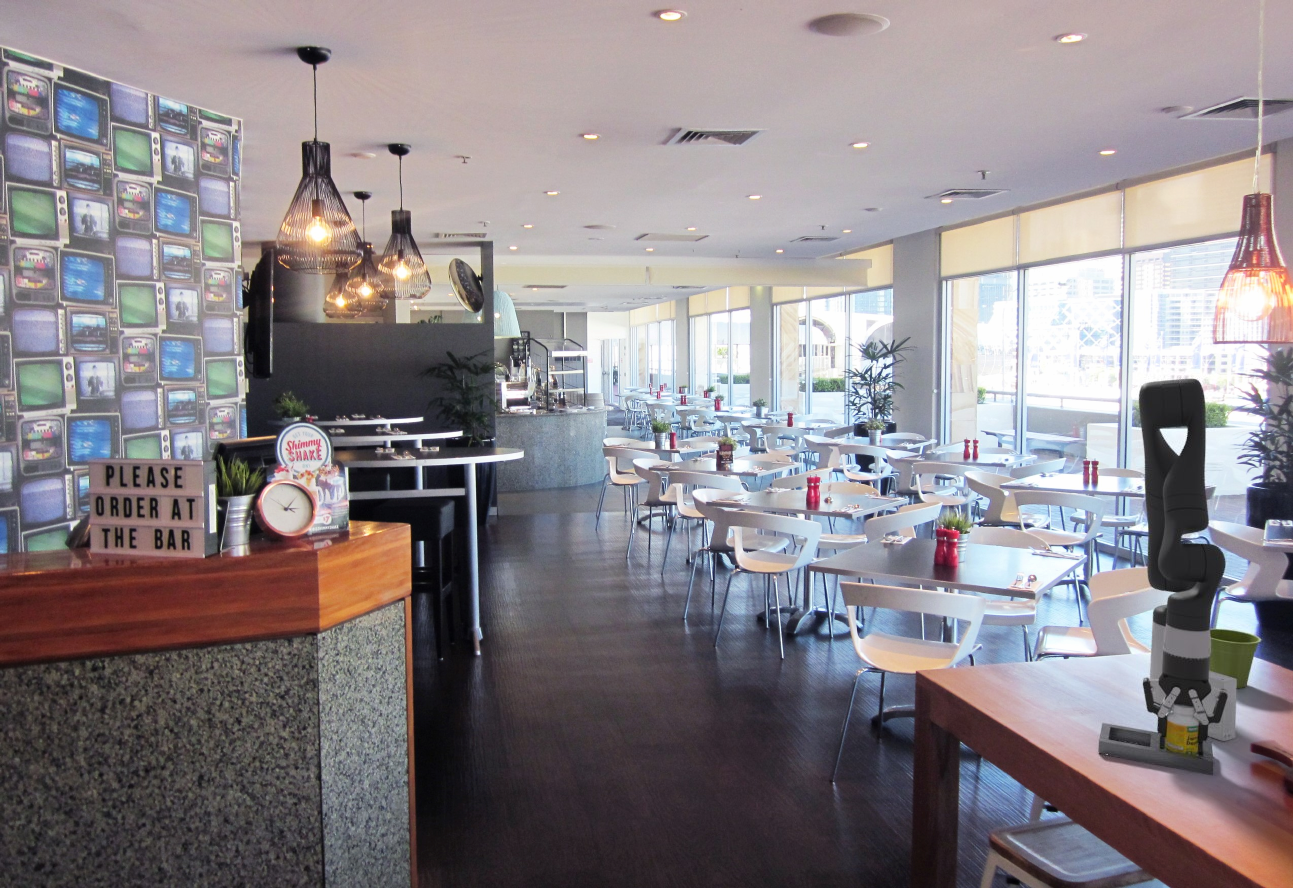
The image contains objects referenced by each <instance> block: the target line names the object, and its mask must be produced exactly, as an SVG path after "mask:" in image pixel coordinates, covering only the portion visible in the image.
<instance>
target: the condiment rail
mask: <svg viewBox="0 0 1293 888" xmlns="http://www.w3.org/2000/svg"><path fill="white" fill-rule="evenodd" d="M1099 734H1100V735H1099V739H1098V752H1099V753H1102V754H1101V755H1103V754H1108V755H1111V756H1110V757H1114V756H1117V757H1116V758H1119V757H1122V758H1121V759H1124V758H1126V760H1130V759H1131V761H1135V760H1136V761H1137V762H1140V761H1141V762H1142V763H1146V764H1151V765H1157V766H1162V767H1169V768H1173V769H1179V770H1182V771H1183V770H1184V771H1189V772H1195V773H1200V774H1206V775H1210V776H1213V775H1214V754H1213V753H1214V752H1213V744H1212V741H1209V740H1207V741H1203V744H1201V743H1198V754H1197V755H1191V754H1186V753H1180V752H1174V751H1169V750H1165V737H1161V733H1158V731H1152V730H1147V729H1139V728H1134V727H1130V726H1124V725H1117V724H1111V723H1105V722H1102V723H1101V727H1100V733H1099ZM1111 739H1114V740H1111ZM1117 740H1120V741H1117ZM1123 741H1126V742H1123ZM1128 742H1132V743H1128ZM1134 743H1137V744H1134ZM1139 744H1143V745H1139ZM1145 745H1147V746H1145ZM1098 752H1097V753H1098ZM1108 755H1107V756H1108Z"/></svg>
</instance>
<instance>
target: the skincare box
mask: <svg viewBox="0 0 1293 888" xmlns="http://www.w3.org/2000/svg"><path fill="white" fill-rule="evenodd" d="M1209 683H1210V685H1211V687H1213V688H1216V689H1225V690H1226V691H1227V695H1228V698H1227V701H1226V704H1225V708H1224V711H1223V714H1222V717H1221V720H1220V722H1219V723H1210V724H1209V725H1208V737H1210V738H1212V739H1215V740H1218V741H1221V742H1225V741H1226V742H1227V741H1230V740H1234V739H1235V738H1236V721H1237V720H1236V718H1237V717H1236V716H1237V714H1236V713H1237V688H1236V686H1237V679H1235V678H1232V677H1228V676H1225V675H1222V674H1218V673H1215V672H1212V671H1209ZM1202 703H1203V705H1204V708H1205V711H1206V713H1207V714H1212V713H1213V710H1214V707H1215V704H1216V701H1215V700H1214V699H1213V694H1211V693H1210V694H1209V695H1208V696H1206V697H1205V698H1204V699H1203V700H1202ZM1195 716H1196V717H1197V718H1198V719H1199V720H1200V718H1199V716H1198V713H1197V712H1196V713H1195Z"/></svg>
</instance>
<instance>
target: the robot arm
mask: <svg viewBox="0 0 1293 888" xmlns="http://www.w3.org/2000/svg"><path fill="white" fill-rule="evenodd" d="M1138 411H1139V412H1138V413H1139V418H1140V420H1139V421H1140V425H1141V433H1142V441H1143V442H1142V443H1143V444H1142V445H1143V451H1144V495H1145V506H1146V507H1145V508H1146V517H1147V519H1146V520H1147V531H1148V533H1147V534H1148V535H1147V568H1146V570H1147V580H1148V583H1149V585H1150V587H1151V588H1152V589H1155V590H1158V591H1161V592H1162V591H1163V592H1170V593H1172V594H1170V595H1169V596H1168V597H1167V602H1166V604H1162V605H1158V606H1156V607H1155V608H1154V609H1153V611H1152V622H1151V623H1152V625H1151V626H1152V627H1151V645H1150V646H1151V648H1150V665H1149V666H1150V667H1149V668H1150V669H1149V677H1144V678H1142V687H1143V694H1144V698H1145V699H1144V700H1145V704H1146V710H1147V712H1148V713H1151V714H1154V715H1155V716H1157V724H1156V725H1157V726H1156V727H1157V728H1156V732H1158V733H1161V737H1165V735H1166V716H1167V714H1168V713H1169V710H1171V706H1172V704H1173V703H1174V704H1185V705H1188V706H1194V707H1195V709H1196V712H1197V713H1198V716H1199V718H1200V720H1199V738H1198V743H1201V744H1203V741H1208V737H1209V736H1208V725H1209V724H1210V723H1219V722H1220V720H1221V717H1222V714H1223V711H1224V708H1225V704H1226V701H1227V698H1228V695H1227V691H1226V690H1225V689H1216V688H1213V687H1211V685H1210V683H1209V666H1210V653H1211V637H1210V629H1211V619H1212V618H1211V616H1212V607H1213V604H1214V600H1215V597H1216V595H1217V594H1216V593H1217V591H1218V588H1219V586H1220V585H1221V581H1222V579H1223V577H1224V574H1225V570H1226V567H1227V566H1226V564H1227V563H1226V562H1227V561H1226V557H1225V554H1224V552H1223V550H1222V549H1221V548H1220V547H1219V546H1217V544H1211V543H1198V542H1197V543H1195V542H1194V543H1193V542H1182V537H1183V535H1184V536H1185V535H1188V534H1194V533H1199V532H1202V531H1205V530H1207V528H1208V527H1209V525H1210V524H1209V521H1210V519H1209V508H1208V499H1207V493H1206V492H1207V491H1206V477H1205V476H1206V474H1205V472H1206V453H1207V452H1206V450H1207V449H1206V448H1207V447H1206V446H1207V445H1206V443H1207V441H1206V440H1207V439H1206V437H1207V435H1206V434H1207V432H1206V431H1207V428H1206V427H1207V426H1206V422H1207V417H1206V416H1207V415H1206V411H1207V410H1206V398H1205V393H1204V388H1203V385H1202V383H1201V382H1200V381H1199V380H1198V378H1197V379H1196V378H1179V379H1167V380H1156V381H1155V380H1154V381H1149V382H1145V383H1142V385H1141V387H1140V389H1139V393H1138ZM1182 427H1183V428H1184V427H1185V428H1186V427H1187V428H1186V429H1187V431H1186V434H1187V435H1186V439H1185V443H1184V445H1183V448H1182V449H1181V452H1180V453H1179V454H1177V452H1176V451H1174V449H1173V448H1172V447H1171V446H1170V445H1169V443H1168V442H1167V441H1166V439H1165V438H1164V436H1163V433H1162V432H1161V429H1166V428H1167V429H1168V428H1182ZM1210 693H1211V694H1213V699H1214V700H1215V701H1216V704H1215V707H1214V710H1213V713H1212V714H1207V713H1206V711H1205V708H1204V705H1203V703H1202V700H1203V699H1204V698H1205V697H1206V696H1208V695H1209V694H1210ZM1155 703H1157V704H1160V705H1157V704H1155Z"/></svg>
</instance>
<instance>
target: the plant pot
mask: <svg viewBox="0 0 1293 888" xmlns="http://www.w3.org/2000/svg"><path fill="white" fill-rule="evenodd" d="M1210 637H1211V653H1210V666H1209V671H1212V672H1215V673H1218V674H1222V675H1225V676H1228V677H1232V678H1235V679H1237V686H1236V689H1242V688H1245V687H1247V685H1248V683H1249V682H1248V680H1249V677H1250V673H1251V669H1252V665H1253V661H1254V657H1255V653H1256V652H1257V649H1258V645H1259V644H1260V643H1261V642H1262V639H1261V638H1260V637H1259V636H1257V635H1255V634H1252V633H1249V632H1245V631H1240V630H1234V629H1224V628H1210Z"/></svg>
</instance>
